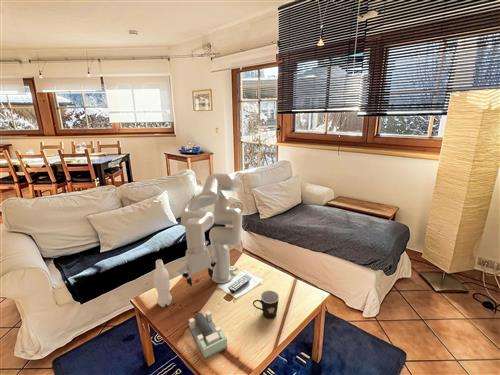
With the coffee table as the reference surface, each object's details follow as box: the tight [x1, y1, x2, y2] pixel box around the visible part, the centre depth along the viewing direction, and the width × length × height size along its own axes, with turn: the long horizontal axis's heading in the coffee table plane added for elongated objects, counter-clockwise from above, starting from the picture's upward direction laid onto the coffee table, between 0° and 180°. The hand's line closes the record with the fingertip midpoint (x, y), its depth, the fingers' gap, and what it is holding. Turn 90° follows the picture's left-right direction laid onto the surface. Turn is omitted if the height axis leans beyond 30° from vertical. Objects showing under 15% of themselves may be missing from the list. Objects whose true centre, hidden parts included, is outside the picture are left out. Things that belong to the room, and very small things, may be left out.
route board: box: [187, 310, 228, 360], centre depth 116 cm, size 10×20×5 cm, turn 31°
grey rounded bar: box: [194, 312, 220, 346], centre depth 117 cm, size 19×5×5 cm, turn 31°
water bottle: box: [153, 258, 173, 308], centre depth 133 cm, size 7×7×25 cm
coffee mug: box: [252, 290, 280, 320], centre depth 127 cm, size 12×9×10 cm
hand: (200, 280), depth 119 cm, fingers open, 9 cm apart
